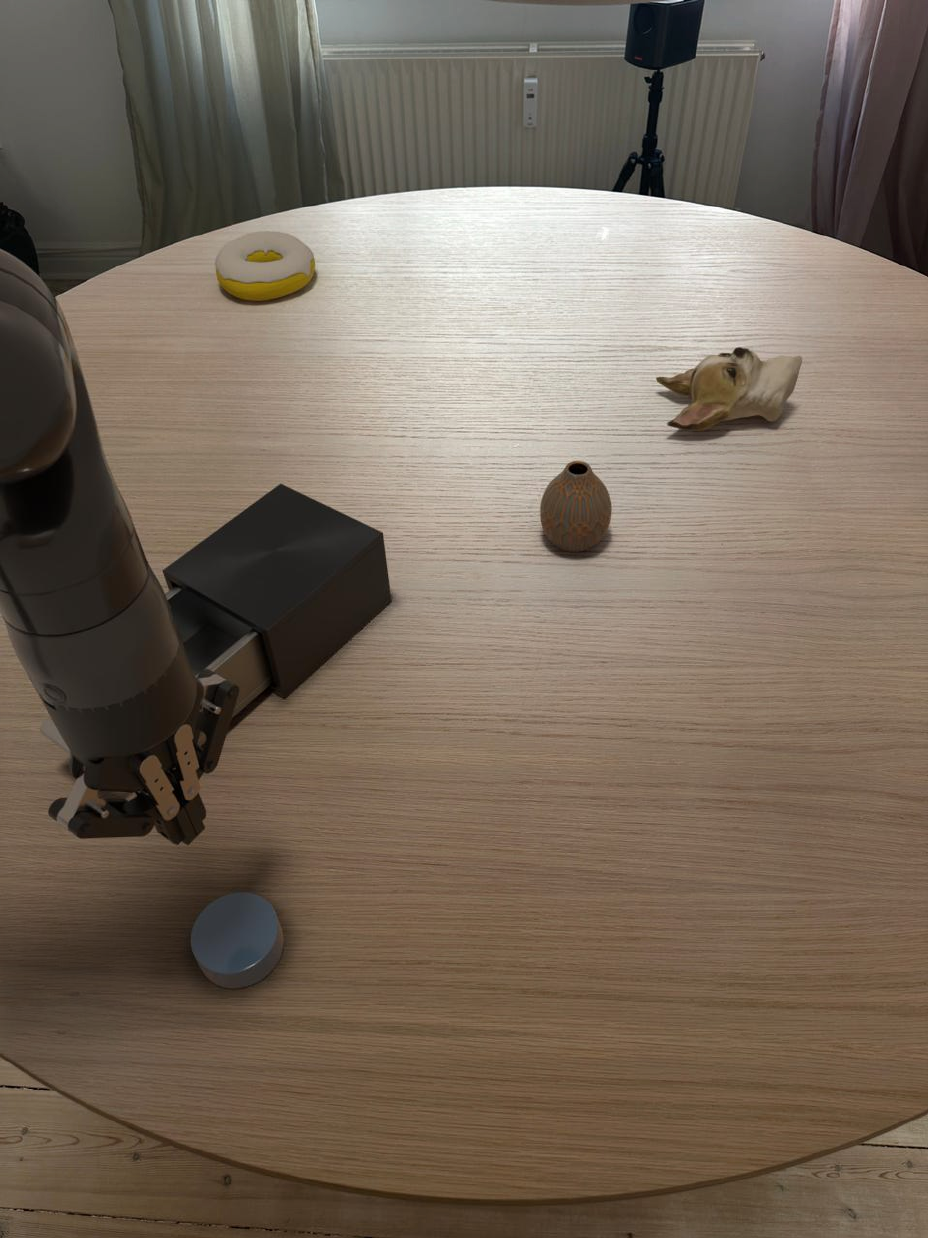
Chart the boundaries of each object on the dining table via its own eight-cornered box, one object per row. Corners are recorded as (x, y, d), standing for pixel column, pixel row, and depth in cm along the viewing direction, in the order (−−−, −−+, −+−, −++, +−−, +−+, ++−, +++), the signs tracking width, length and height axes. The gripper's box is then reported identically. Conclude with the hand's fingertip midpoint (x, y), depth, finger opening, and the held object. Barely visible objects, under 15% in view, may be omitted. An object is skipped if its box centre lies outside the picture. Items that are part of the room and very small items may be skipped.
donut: (219, 265, 143) (211, 231, 139) (313, 254, 144) (308, 220, 141) (219, 311, 133) (211, 276, 130) (321, 299, 135) (316, 264, 131)
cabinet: (284, 699, 85) (266, 630, 79) (185, 638, 90) (161, 570, 84) (392, 601, 93) (383, 532, 87) (295, 551, 98) (280, 482, 92)
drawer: (132, 820, 76) (105, 768, 71) (41, 751, 81) (11, 698, 76) (296, 672, 86) (283, 618, 81) (206, 619, 91) (189, 565, 86)
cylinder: (212, 1004, 66) (204, 989, 65) (188, 930, 70) (180, 914, 68) (296, 964, 68) (290, 948, 66) (268, 895, 72) (262, 878, 70)
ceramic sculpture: (816, 369, 102) (670, 381, 103) (804, 439, 108) (666, 449, 109) (793, 318, 109) (657, 330, 110) (782, 386, 115) (654, 396, 117)
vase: (567, 571, 95) (571, 500, 89) (525, 533, 99) (526, 463, 93) (623, 543, 97) (630, 472, 91) (579, 507, 101) (584, 437, 95)
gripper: (150, 547, 55) (218, 735, 68) (-53, 700, 48) (65, 880, 60) (247, 598, 52) (299, 785, 65) (45, 770, 45) (148, 944, 57)
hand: (186, 831), depth 62 cm, fingers closed
